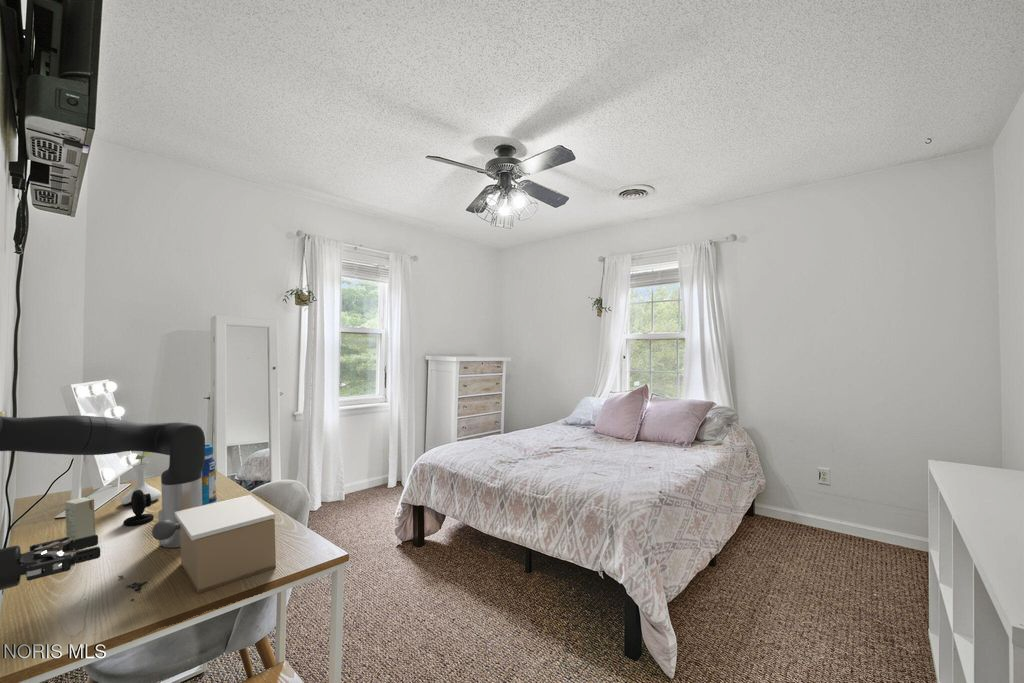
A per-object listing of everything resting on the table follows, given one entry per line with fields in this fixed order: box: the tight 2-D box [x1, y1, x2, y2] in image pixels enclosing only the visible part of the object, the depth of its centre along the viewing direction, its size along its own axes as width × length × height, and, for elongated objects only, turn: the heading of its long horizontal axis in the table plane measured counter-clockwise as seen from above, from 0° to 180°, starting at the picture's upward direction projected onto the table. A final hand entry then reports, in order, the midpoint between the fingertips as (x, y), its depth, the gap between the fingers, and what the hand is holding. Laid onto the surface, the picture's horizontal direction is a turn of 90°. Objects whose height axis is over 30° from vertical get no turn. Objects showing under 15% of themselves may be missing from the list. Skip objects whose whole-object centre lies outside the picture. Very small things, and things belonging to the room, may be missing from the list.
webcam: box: [122, 490, 155, 527], centre depth 144 cm, size 8×8×10 cm
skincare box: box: [64, 497, 97, 540], centre depth 129 cm, size 6×4×12 cm
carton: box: [180, 518, 277, 594], centre depth 114 cm, size 16×20×12 cm
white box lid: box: [151, 494, 276, 541], centre depth 112 cm, size 23×21×4 cm
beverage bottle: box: [201, 444, 218, 506], centre depth 159 cm, size 8×8×20 cm
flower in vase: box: [120, 451, 162, 505], centre depth 163 cm, size 13×11×25 cm
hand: (99, 545), depth 98 cm, fingers open, 8 cm apart
